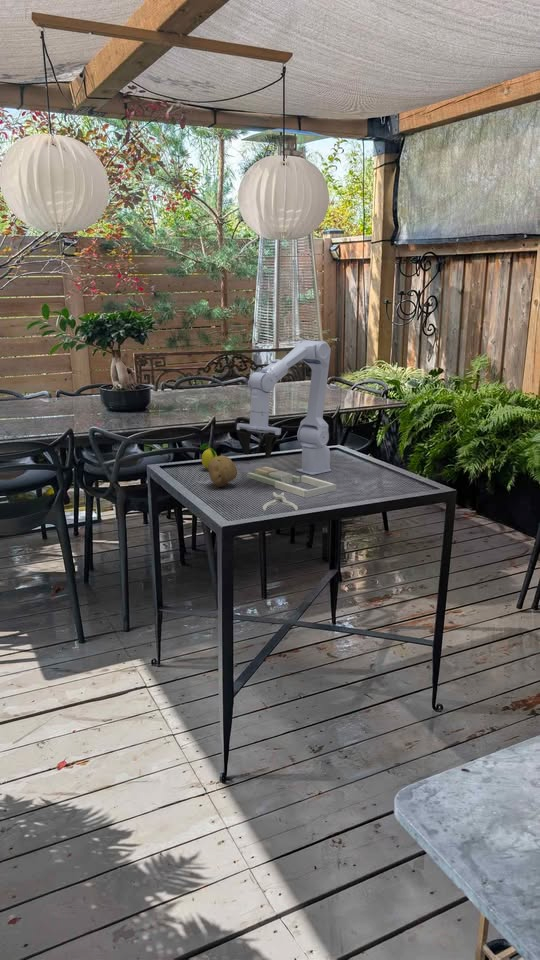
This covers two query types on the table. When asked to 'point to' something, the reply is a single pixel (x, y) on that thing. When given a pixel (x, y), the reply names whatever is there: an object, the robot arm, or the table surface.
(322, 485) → the tray
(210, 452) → the lemon
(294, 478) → the slot rails
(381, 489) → the table surface
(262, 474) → the ash block
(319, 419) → the robot arm
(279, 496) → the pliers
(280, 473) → the aluminium block
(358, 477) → the table surface
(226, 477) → the brown potato
